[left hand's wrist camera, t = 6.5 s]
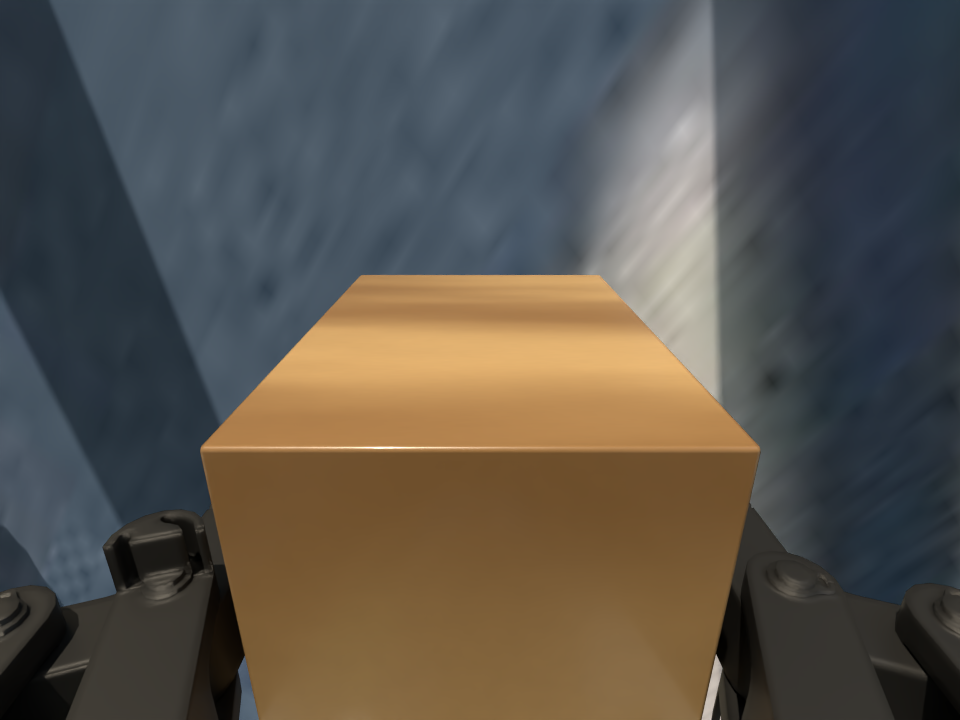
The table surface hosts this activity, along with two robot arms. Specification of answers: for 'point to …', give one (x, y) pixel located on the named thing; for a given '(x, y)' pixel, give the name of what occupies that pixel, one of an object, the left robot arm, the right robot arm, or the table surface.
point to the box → (480, 509)
